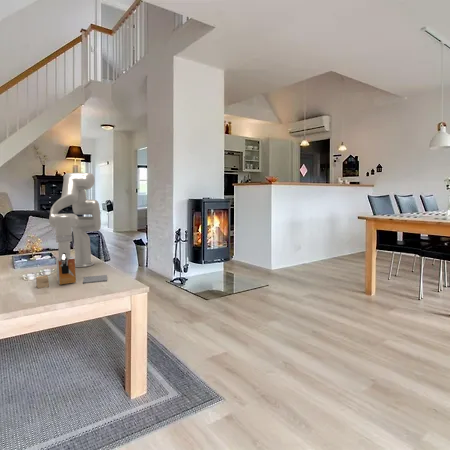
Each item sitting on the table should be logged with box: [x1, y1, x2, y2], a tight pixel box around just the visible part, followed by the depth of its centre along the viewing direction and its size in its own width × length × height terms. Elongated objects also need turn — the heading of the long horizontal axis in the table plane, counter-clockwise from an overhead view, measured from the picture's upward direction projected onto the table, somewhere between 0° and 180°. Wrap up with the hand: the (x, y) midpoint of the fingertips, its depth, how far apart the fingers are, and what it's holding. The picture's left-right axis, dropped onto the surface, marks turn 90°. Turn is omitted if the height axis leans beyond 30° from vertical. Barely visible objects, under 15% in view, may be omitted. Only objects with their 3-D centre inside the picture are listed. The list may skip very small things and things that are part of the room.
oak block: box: [35, 275, 50, 289], centre depth 175 cm, size 5×5×5 cm
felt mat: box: [82, 274, 108, 284], centre depth 187 cm, size 12×12×1 cm
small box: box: [56, 256, 77, 286], centre depth 181 cm, size 8×6×13 cm
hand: (66, 271), depth 181 cm, fingers open, 8 cm apart
